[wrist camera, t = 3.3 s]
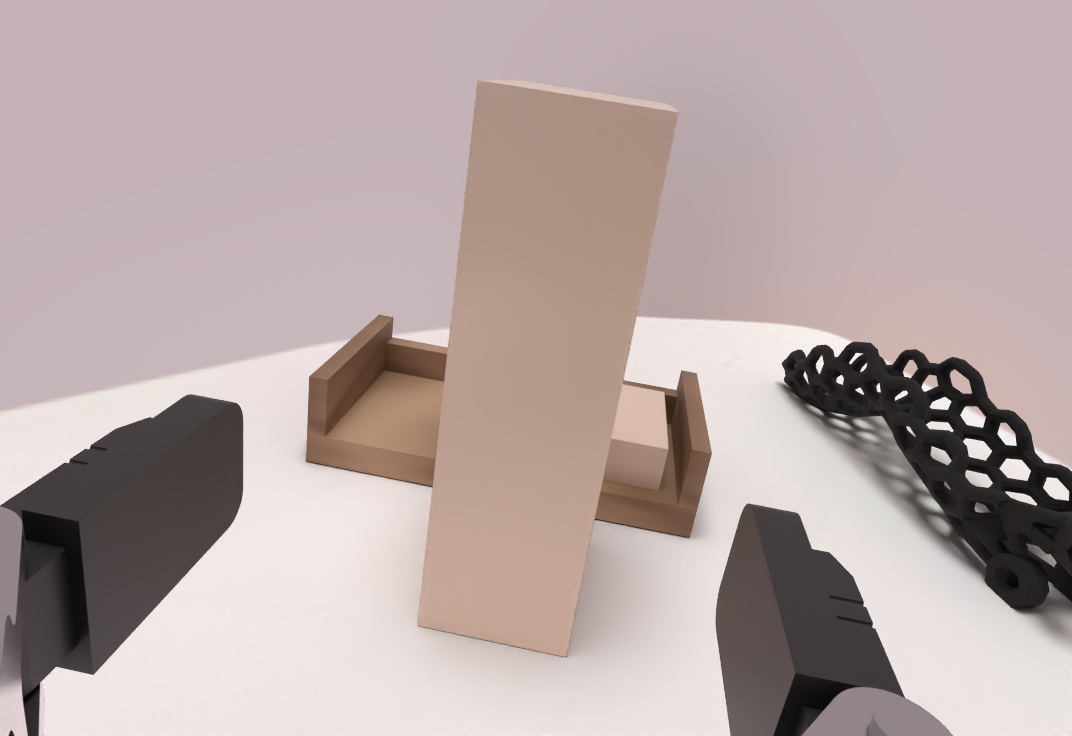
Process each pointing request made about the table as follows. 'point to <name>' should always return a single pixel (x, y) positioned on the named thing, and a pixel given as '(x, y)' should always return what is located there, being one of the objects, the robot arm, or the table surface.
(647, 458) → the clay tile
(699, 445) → the wooden open-ended tray
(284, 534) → the table surface
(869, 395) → the decorative element
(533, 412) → the beige wooden block
